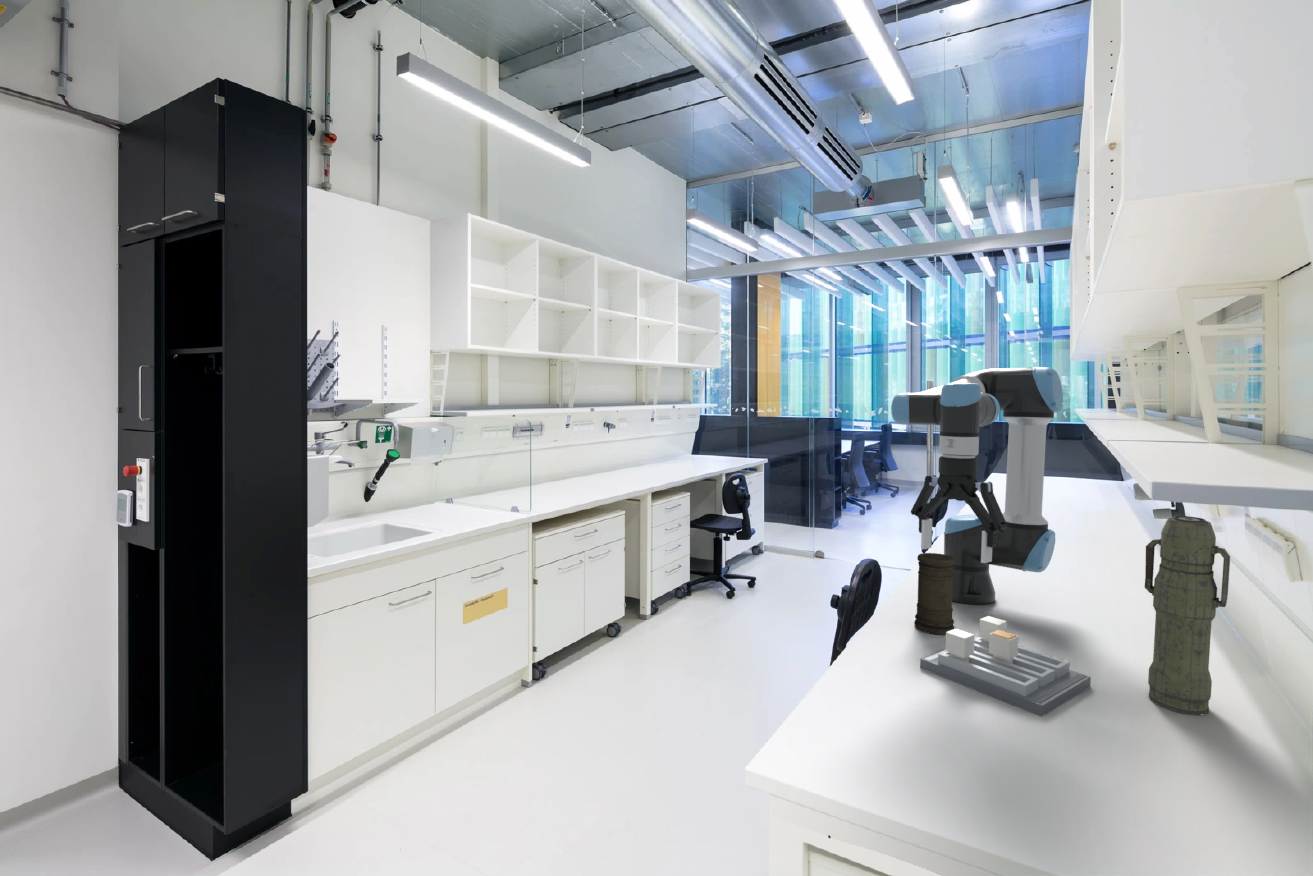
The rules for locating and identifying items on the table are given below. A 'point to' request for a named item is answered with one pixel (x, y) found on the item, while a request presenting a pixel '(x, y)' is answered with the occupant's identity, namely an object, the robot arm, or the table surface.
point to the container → (935, 593)
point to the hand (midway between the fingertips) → (954, 555)
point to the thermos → (1184, 613)
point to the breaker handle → (1003, 645)
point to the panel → (1006, 670)
